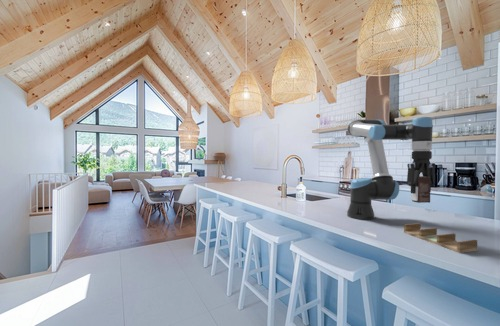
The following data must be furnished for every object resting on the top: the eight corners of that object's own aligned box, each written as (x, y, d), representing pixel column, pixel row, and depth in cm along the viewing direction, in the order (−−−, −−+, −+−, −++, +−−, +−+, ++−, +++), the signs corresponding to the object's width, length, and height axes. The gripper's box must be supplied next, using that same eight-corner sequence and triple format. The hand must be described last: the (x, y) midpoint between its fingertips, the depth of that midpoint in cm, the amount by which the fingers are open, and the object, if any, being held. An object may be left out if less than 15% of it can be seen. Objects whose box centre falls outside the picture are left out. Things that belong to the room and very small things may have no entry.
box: (422, 201, 111) (423, 176, 111) (430, 203, 107) (431, 176, 106) (410, 201, 110) (411, 176, 110) (418, 203, 106) (419, 176, 106)
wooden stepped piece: (403, 232, 112) (404, 224, 112) (418, 231, 114) (419, 223, 114) (459, 252, 89) (459, 242, 89) (477, 250, 91) (477, 240, 91)
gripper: (412, 150, 102) (411, 202, 103) (446, 150, 107) (444, 200, 107) (397, 150, 109) (396, 199, 110) (430, 151, 114) (429, 197, 114)
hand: (420, 199), depth 109 cm, fingers closed on box, 6 cm apart
